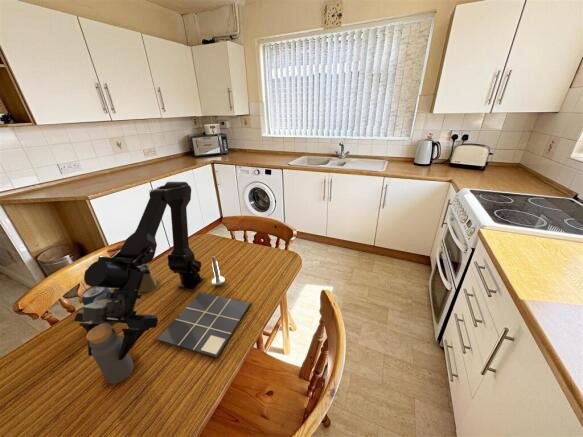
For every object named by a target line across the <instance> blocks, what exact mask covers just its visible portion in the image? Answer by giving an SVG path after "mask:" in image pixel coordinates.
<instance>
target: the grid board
mask: <svg viewBox="0 0 583 437" xmlns="http://www.w3.org/2000/svg"><path fill="white" fill-rule="evenodd" d="M250 306H251V303H250V302H246V301H240V300H236V299H232V298H227V297H223V296H219V295H213V294H208V293H204V292H199V293H198V294H197V295H196V296H195V297H194V298H193V299H192V300H191V302H189V304H188V305H187V306H186V307H185V308H184V309H183V310H182V311H181V313H179V315H178V316H177V317H176V318H175V319H174V320H173V321H172V322H171V323H170V324H169V325H168V327H166V329H165V330H164V331H163V332H162V333H161V334H160V336H158V338H157V339H156V341H157V342H161V343H163V344H167V345H170V346H174V347H177V348H181V349H183V350H187V351H190V352H194V353H197V354H200V355H203V356H207V357H211V358H214V359H218V358H219V356H220V354H221V353H222V351H223V350H224V348H225V347H226V345H227V343H228V342H229V340H230V338H231V337H232V335H233V333H234V332H235V330H236V328H237V327H238V326H239V324H240V322H241V320H242V318H243V317H244V316H245V314H246V312H247V310H248V309H249V307H250Z"/></svg>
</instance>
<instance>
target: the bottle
mask: <svg viewBox="0 0 583 437" xmlns="http://www.w3.org/2000/svg"><path fill="white" fill-rule="evenodd" d="M112 326H113V325H112V323H111V324H109V323H103V324H100V325H97V326H96V327H94V328H93V329H91V330H90V331H89V332H88V334H87V333H86V340H87V341H88V340H89V346H90V347H91V348H92V349H91V353H92V355H91V356H92V358H93V359H94V361H95V362H96V364H97V367H98V368H99V369H100V371H101V373H102V375H103V376H104V378H105V380H106V381H107V383H109V384H112V385H115V384H119V383H121V382H123V381H125V380H126V379H127V378H128V377H129V376H130V375H131V374H132V372H133V370H134V367H135V365H134V361H133V360H132V358H131V356H130V352H128V353H127V355H126V356H125V357H124V359H122V360H118V358H119V353H120V349H121V346H122V342H123V339H122V337H121V336H120V335H119V334H117V331H116V330H115V328H114V327H112Z"/></svg>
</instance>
